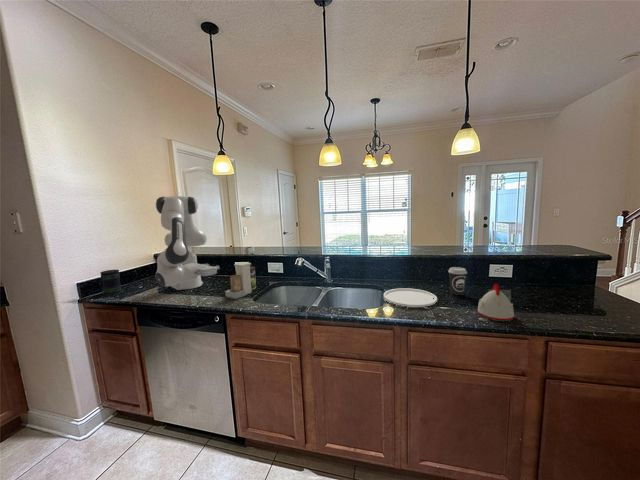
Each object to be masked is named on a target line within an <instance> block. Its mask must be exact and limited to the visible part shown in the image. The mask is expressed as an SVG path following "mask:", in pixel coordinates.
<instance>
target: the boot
mask: <svg viewBox="0 0 640 480" xmlns="http://www.w3.org/2000/svg"><path fill="white" fill-rule="evenodd" d="M251 265H252V263H251V262H245V261H241V262H237V263H234V264H233V266H234V267H235V275H240V276H241V277H240V283H241V291H239V292H236V293H235V292H231V289H228V290H226V291H225V297H226V298H228V299H232V300H238V299H240V298H243V297H246V296H247V295H249V294H251V293H252V290H251V276H250V266H251Z"/></svg>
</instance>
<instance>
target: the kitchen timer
mask: <svg viewBox="0 0 640 480" xmlns="http://www.w3.org/2000/svg"><path fill="white" fill-rule="evenodd" d="M514 310H515V309H514V304H513V303H511V301H510V299H509V298H508V297H507V295H505V294H504V293H503V292H502V291H501V289H500V285H499V284H498V283H494V284H493V286H492V290H490V291H488V292H486V293H485V294H484V295H483V296H482V298H479V300H478V306H477V312H478V313H480V314H481V315H483V316H486V317H488V318H492V319H496V320H511V319H513V318H514V319H515V313H514ZM478 313H477V314H478Z"/></svg>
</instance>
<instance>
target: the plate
mask: <svg viewBox="0 0 640 480" xmlns="http://www.w3.org/2000/svg"><path fill="white" fill-rule="evenodd" d="M433 298H434V299H433ZM383 300H384V302H386V301H387V302H389V303H393V304H396V305H401V306H407V307H425V306H430V305H433V304H435V303H436V302H437V303H438V296H436V295H435V294H434V293H431V292H430V291H427V290H423V289H417V288H410V287H409V288H405V287H404V288H403V287H402V288H401V287H399V288H393V289H387V290H386V291H385V292H383ZM387 302H386V303H387ZM389 303H388V304H389Z"/></svg>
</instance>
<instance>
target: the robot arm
mask: <svg viewBox="0 0 640 480" xmlns="http://www.w3.org/2000/svg"><path fill="white" fill-rule="evenodd" d="M198 208H199V205H198V201H197V199H196V198H195V197H192V196H184V195H183V196H181V195H176V196H159V197H158V198H157V199H156V202H155V209H156V210H157V212H158V213H159V214H160V222H161V223H160V224H161V227H162V228H164V229H165V230H168V231H170V232H168V233H166V235H165V236H164V244H165V245H166V246H167V247H166V248H165V250H163V251H162V252H161V253H160V254H159V255H158V256H157V257H156V264H157V267H156V268H157V269H156V272H155V273H154V278H155V281H156V283H158V285H160V286H161V287H171V288H173V289H175V290H177V291H181V290H190V289H191V290H192V289H195V288H198V287H201V286H203V284H204V281H202V277H208V276H212V275H216V274H218V272H217V271H218V270H220V265H214V266H211V265H210V264H209V263H198V258H197V254H195V253H194V252H192V251H189V249H188V248H191V247H192V248H193V247H199V246H200V247H201V246H203V245H205V244H206V242H207V240H208V239H207V235H206V233H205V232H204V231H202V230H200V229H198V228H197V226H195V224H194V221H193V216H192V215H194V214H196V213H197V210H198Z"/></svg>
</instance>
